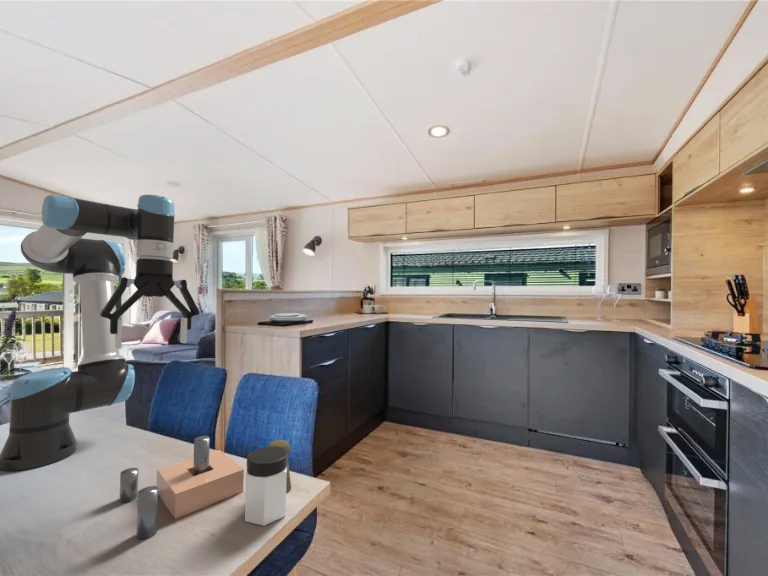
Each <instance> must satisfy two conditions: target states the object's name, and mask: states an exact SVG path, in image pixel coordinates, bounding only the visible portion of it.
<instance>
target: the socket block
mask: <svg viewBox="0 0 768 576" xmlns="http://www.w3.org/2000/svg"><path fill="white" fill-rule="evenodd" d="M193 465H194V457H192V458H189V459H185V460H183V461H180V462H177V463H172V464H169V465H166V466H163V467H160V468H157V469H156V486H157V487H158V497H160V499H161V500H162V502H163V504H164V506H166V508H167V510H168V511H169V512H170V514H171V516H172V517H173V518H174V520H177V519H179V518H182V517H184V516H186V515H190V514H191V513H193V512H196V511H198V510H200V509H203V508H206V507H208V506H210V505H214V504H215V503H218V502H220V501H223V500H225V499H228V498H230V497H232V496H234V495H238V494H240V493H242V492H244V480H245V479H244V478H245V477H244V475H245V474H244V472H245V471H244V468H243V467H241V466H240V465H239V464H238V463H237V462H235V461H234V460H233V459H232V458H231V457H229V456H228V455H227V454H225V453H224V452H223V451H222V450H221V449H219V450H215V451H212V452H209V471H208V472H205V473H202V474H199V475H196V476H193Z"/></svg>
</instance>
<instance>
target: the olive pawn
mask: <svg viewBox="0 0 768 576" xmlns="http://www.w3.org/2000/svg"><path fill="white" fill-rule="evenodd" d="M290 445H291V444H290V442H288V440H284V439H278V440H276V439H275V440H273V441H271V442H270V443H269V444H268V446H267V447H281V448H284V449H285V450H286V451H287V453H288V456H289V455H290V452H291V446H290ZM289 465H290V463H289V460H288V461H287V494H288V493H289V492H290V491H291V490H292V481H291V475H290V466H289Z"/></svg>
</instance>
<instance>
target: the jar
mask: <svg viewBox="0 0 768 576" xmlns="http://www.w3.org/2000/svg"><path fill="white" fill-rule="evenodd" d="M287 461H288V462H289V455H288V453H287V451H286V450H285V449H284V448H281V447H268V446H266V447H265V446H264V447H261V448H260V447H259V448H257V449H255V450H253V451H251V452H250V453H248V455H247V458H246V474H245V498H244V499H245V503H244V506H245V507H244V508H245V509H244V521H245V522H247V523H250V524H255V525H259V526H264V527H265V526H267V525H269V524H272V523H274V522H276V521H278V520H280V519H282V518H285V516H286V513H287V496H288V493H287Z"/></svg>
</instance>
